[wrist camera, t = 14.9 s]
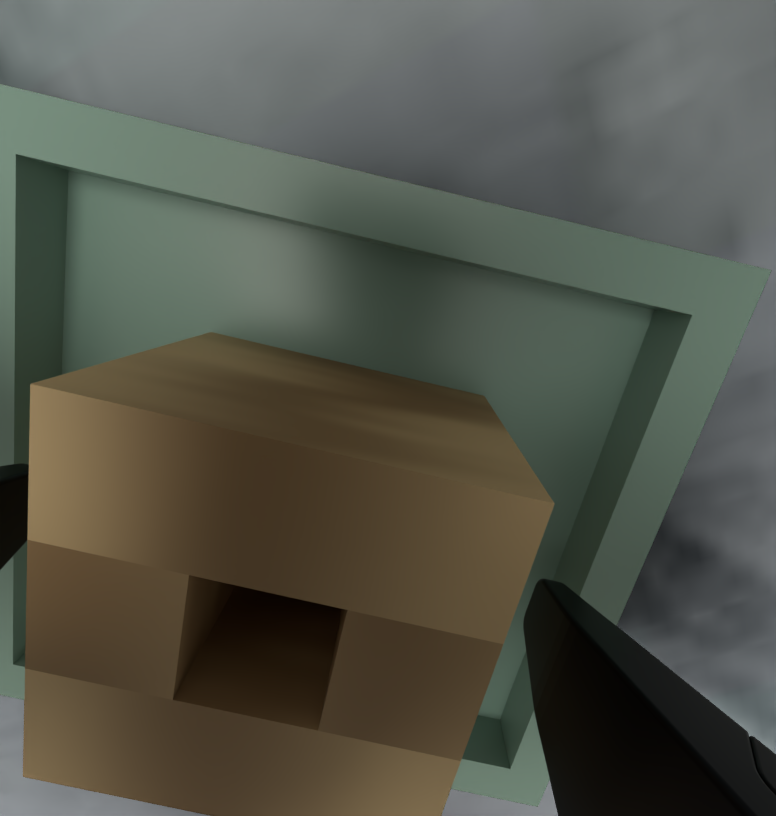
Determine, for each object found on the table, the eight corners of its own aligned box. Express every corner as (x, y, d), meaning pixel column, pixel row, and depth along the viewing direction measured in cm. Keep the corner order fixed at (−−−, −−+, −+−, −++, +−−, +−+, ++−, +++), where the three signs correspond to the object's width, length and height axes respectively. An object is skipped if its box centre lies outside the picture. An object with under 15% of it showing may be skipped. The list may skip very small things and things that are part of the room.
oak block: (483, 395, 10) (554, 502, 5) (417, 621, 12) (425, 859, 7) (211, 331, 10) (30, 383, 5) (181, 569, 12) (22, 776, 7)
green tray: (706, 271, 10) (771, 270, 8) (520, 737, 13) (537, 806, 12) (38, 110, 9) (-45, 73, 8) (28, 633, 13) (-29, 688, 11)
